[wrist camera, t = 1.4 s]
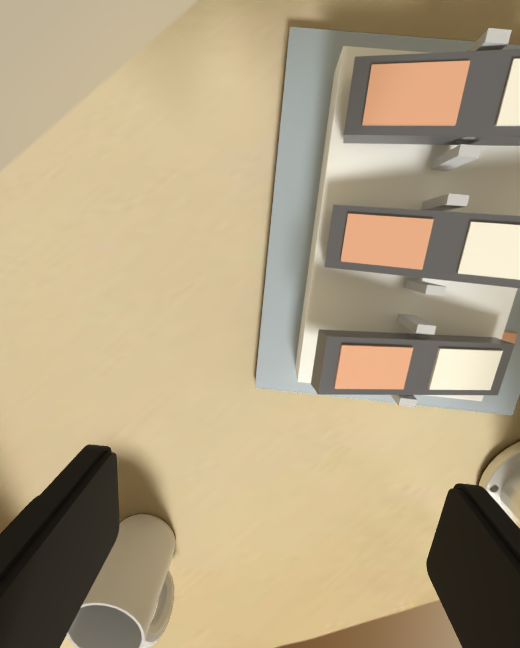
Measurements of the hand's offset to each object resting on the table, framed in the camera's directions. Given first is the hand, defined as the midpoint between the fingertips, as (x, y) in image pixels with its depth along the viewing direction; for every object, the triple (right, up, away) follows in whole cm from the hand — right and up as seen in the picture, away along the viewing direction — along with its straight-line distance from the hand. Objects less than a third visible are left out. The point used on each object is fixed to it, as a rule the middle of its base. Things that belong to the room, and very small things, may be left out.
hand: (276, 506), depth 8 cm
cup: (-13, -21, +27) cm, 36 cm away
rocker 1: (+12, +18, +8) cm, 23 cm away
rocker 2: (+11, +10, +10) cm, 18 cm away
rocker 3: (+10, +2, +13) cm, 16 cm away
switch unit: (+11, +12, +17) cm, 24 cm away
